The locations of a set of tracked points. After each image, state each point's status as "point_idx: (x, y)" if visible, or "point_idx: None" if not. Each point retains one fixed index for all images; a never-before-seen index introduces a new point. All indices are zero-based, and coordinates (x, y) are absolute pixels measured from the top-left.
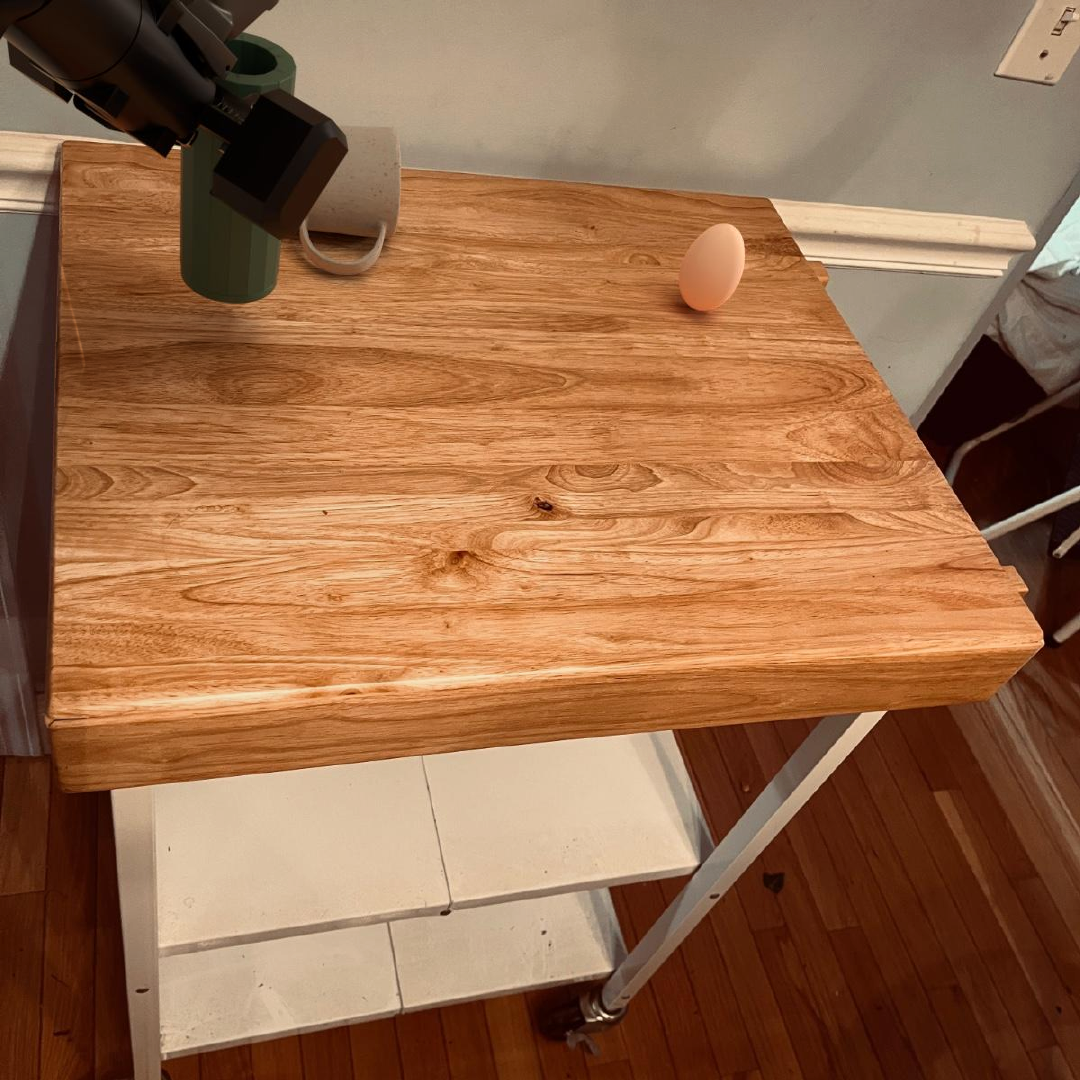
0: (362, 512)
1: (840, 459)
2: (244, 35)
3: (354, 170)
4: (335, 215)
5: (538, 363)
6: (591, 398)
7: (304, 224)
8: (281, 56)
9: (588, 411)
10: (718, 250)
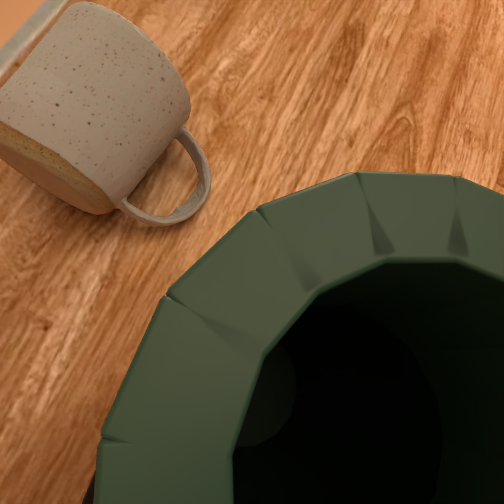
0: None
1: None
2: (218, 309)
3: (134, 109)
4: (146, 168)
5: (380, 123)
6: (431, 115)
7: (135, 209)
8: (461, 229)
9: (444, 128)
10: None
